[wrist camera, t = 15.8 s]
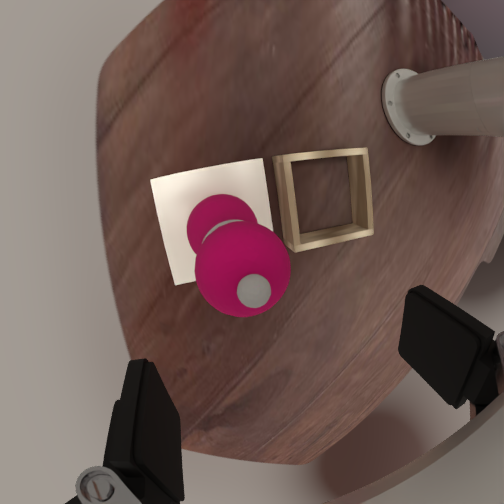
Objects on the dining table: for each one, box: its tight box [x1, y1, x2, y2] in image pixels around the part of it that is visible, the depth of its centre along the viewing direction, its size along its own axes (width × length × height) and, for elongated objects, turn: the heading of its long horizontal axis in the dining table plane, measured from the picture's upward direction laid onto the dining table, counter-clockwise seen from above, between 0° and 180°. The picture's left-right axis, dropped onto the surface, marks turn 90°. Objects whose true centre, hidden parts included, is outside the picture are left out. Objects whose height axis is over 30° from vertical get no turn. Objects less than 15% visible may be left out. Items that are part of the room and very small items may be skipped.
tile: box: [150, 158, 273, 285], centre depth 33 cm, size 13×13×1 cm
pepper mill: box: [187, 194, 291, 317], centre depth 23 cm, size 7×7×20 cm
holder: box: [272, 148, 373, 253], centre depth 33 cm, size 11×11×4 cm
